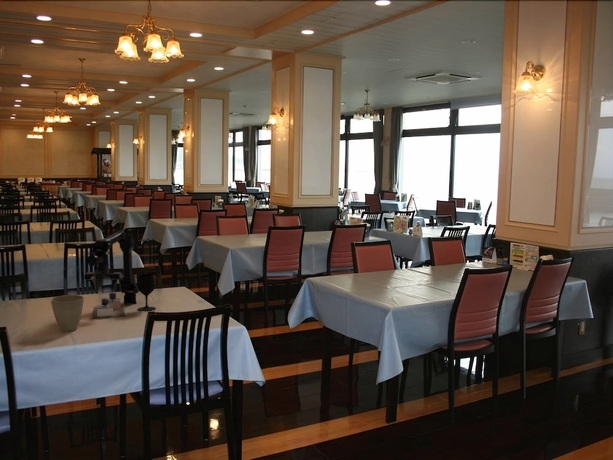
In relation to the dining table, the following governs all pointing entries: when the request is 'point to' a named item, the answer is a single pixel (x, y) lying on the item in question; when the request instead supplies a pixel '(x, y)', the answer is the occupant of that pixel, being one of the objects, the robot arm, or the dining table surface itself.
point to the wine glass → (146, 288)
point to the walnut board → (116, 313)
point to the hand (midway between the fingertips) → (103, 291)
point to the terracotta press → (115, 303)
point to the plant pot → (67, 311)
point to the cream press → (105, 310)
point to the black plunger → (105, 301)
